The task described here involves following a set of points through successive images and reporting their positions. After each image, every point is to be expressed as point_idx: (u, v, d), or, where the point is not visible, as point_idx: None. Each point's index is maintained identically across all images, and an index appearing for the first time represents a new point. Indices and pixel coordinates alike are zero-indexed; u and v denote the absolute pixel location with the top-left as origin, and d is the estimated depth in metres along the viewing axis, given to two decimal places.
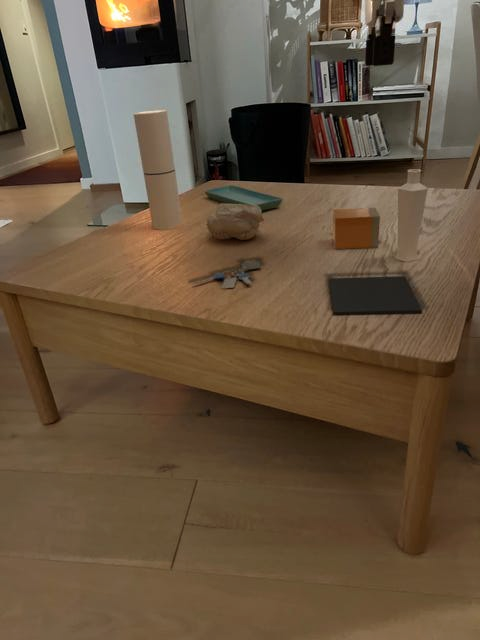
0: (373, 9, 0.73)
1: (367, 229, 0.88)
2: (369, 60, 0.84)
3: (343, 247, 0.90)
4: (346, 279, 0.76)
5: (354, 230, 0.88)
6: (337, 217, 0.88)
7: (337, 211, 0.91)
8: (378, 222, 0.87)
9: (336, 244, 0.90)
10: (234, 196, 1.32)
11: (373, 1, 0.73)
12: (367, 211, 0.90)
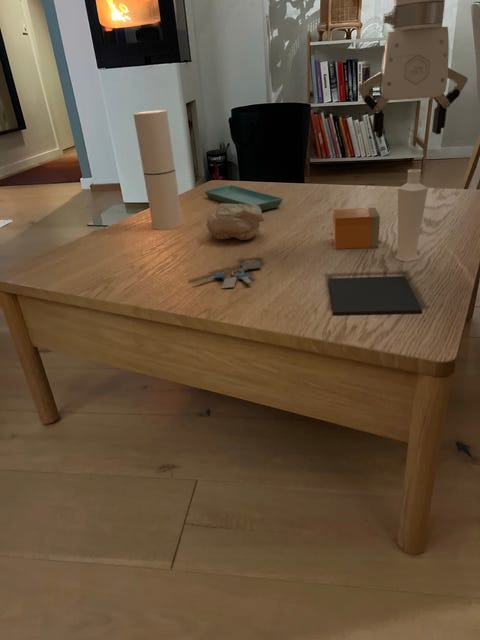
0: (380, 87, 0.81)
1: (367, 229, 0.88)
2: (433, 127, 0.83)
3: (343, 247, 0.90)
4: (346, 279, 0.76)
5: (354, 230, 0.88)
6: (337, 217, 0.88)
7: (337, 211, 0.91)
8: (378, 222, 0.87)
9: (336, 244, 0.90)
10: (234, 196, 1.32)
11: None
12: (367, 211, 0.90)
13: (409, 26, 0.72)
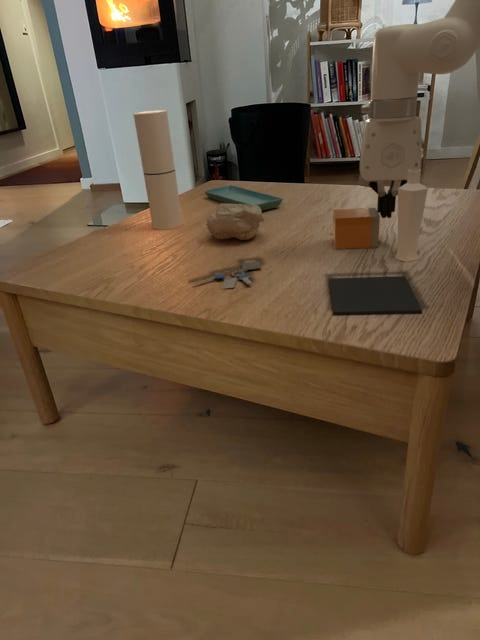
0: None
1: (367, 229, 0.88)
2: None
3: (343, 247, 0.90)
4: (346, 279, 0.76)
5: (354, 230, 0.88)
6: (337, 217, 0.88)
7: (337, 211, 0.91)
8: (378, 222, 0.87)
9: (336, 244, 0.90)
10: (234, 196, 1.32)
11: None
12: (367, 211, 0.90)
13: (384, 119, 0.79)
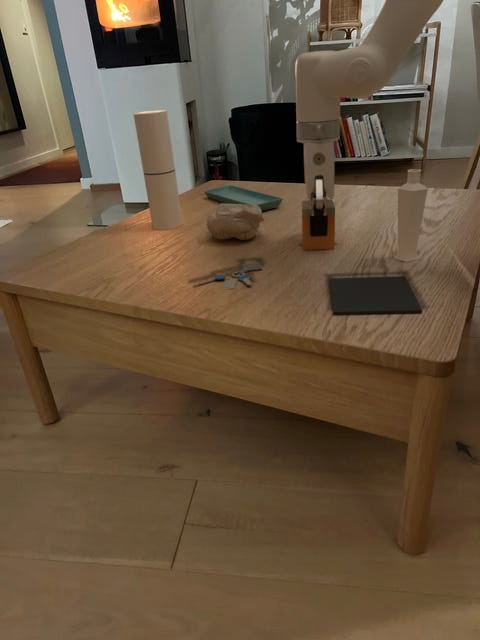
0: (308, 191, 0.84)
1: None
2: None
3: (333, 241, 0.90)
4: (346, 279, 0.76)
5: None
6: None
7: (302, 239, 0.95)
8: (308, 209, 0.87)
9: (329, 247, 0.90)
10: (234, 196, 1.32)
11: (307, 185, 0.84)
12: None
13: (337, 137, 0.82)
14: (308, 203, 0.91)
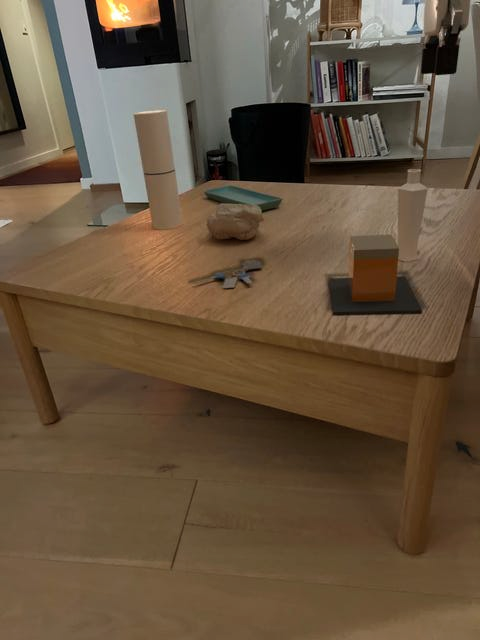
0: (438, 19, 0.73)
1: (371, 263, 0.66)
2: (425, 69, 0.84)
3: (393, 291, 0.67)
4: (346, 279, 0.76)
5: (370, 279, 0.67)
6: (352, 297, 0.69)
7: (349, 285, 0.73)
8: (362, 251, 0.65)
9: (388, 299, 0.68)
10: (233, 196, 1.32)
11: (438, 11, 0.72)
12: (351, 253, 0.69)
13: None
14: (360, 240, 0.68)
